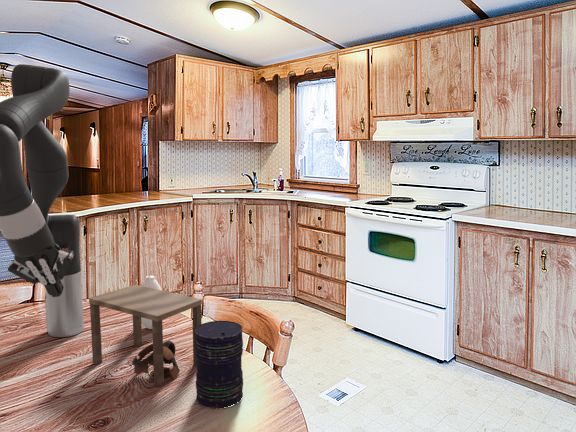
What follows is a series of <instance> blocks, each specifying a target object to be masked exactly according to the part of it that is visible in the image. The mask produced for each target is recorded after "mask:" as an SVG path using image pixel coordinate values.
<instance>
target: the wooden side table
mask: <svg viewBox="0 0 576 432" xmlns="http://www.w3.org/2000/svg"><path fill="white" fill-rule="evenodd" d="M88 303H89V309H90V310H89V311H90V313H89V314H90V315H89V316H90V328H91V329H90V334H91V353H92V364H94V365H99V364H102V363H103V354H102V352H103V351H102V335H101V334H102V333H101V332H102V331H101V330H102V329H101V309H100V308H101V307H103V308H104V309H105V308H106V309H110V310H113V311H117V312H121V313H123V314H127V315H132V331H133V332H132V334H133V335H132V336H133V337H132V338H133V346H134V347H137V348H139V347H140V346H141V347H142V346H143V330H142V329H143V328H142V326H143V325H142V324H141V317H142V318H146V319H150V320H152V329H151V330H152V332H151V333H152V344H153V351H152V352H153V364H154V366H153V385H154V387H156V388H161V387H163V386H164V385H165V368H164V367H165V366H164V364H165V363H164V361H163V343H164V336H163V334H164V333H163V331H164V330H163V320H165V319H166V320H167V319H168V318H170V317H173V316H175V315H178V314H182V313H183V312H186V311H188V310H192V311H191V312H192V313H191V314H192V360H193V362H192V363H193V365H194V366H196V367H197V358H196V354H195V351H196V349H195V336H196V335H195V329H196V328H197V327H198V326H199V325H201V324H203V323H202V321H203V320H202V318H203V317H202V305H203V298H202V299H201V298H196V297H194V296H193V297H192V296H189V295H185V294H179V293H177V292H176V293H175V292H171V291H167V290H166V291H165V290H163V289H162V290H158V289H153V288H149V287H144V286H141V285H138V284H133V285H129V286H125V287H122V288H119V289H116V290H112V291H110V292H105V293H103V294H102V293H101V294H99V295H96V296H93V297H92V296H91V297H89V298H88Z"/></svg>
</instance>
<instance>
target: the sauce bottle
mask: <svg viewBox="0 0 576 432" xmlns="http://www.w3.org/2000/svg"><path fill="white" fill-rule="evenodd" d="M140 286H144V287H149V288H153V289H158V290H162V291H163V289H162V287H161V285H160V283H159V282H158V281H157V279H156V277H155V276H154V275H152V274H151V268H150V267H148V275H146V276H145V278H144V280H143V282H142V284H141V285H140ZM141 326H144V327H145V328H146V329H148V330H152V320H150V319H146V318H142V317H141Z"/></svg>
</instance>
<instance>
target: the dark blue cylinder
mask: <svg viewBox="0 0 576 432" xmlns="http://www.w3.org/2000/svg"><path fill="white" fill-rule="evenodd" d="M195 335H196V336H195V349H196V351H195V354H196V358H197V366H196V374H195V380H196V381H195V389H196V390H195V391H196V401H197V403H198V404H199V406H202V407H204V408H207V409H212V410H220V409H219V408H223V409H225V408H224V407H228V406H231V405H233V404H236V403H237V402H239V401H240V400H241V398H242V397H244V396H243V395H244V394H243V393H244V392H243V388H244V387H243V386H244V378H243V377H244V376H243V375H244V374H243V373H244V371H243V369H242V366H243V365H242V356H243V352H244V348H243V346H244V339H243V326H242V325H241V324H240V323H238V322H235V321H230V320H213V321H207V322H204V323H202V324H201V325H199V326H198V327H197V328H196V329H195ZM242 399H243V398H242ZM241 401H242V400H241ZM241 401H240V402H241ZM240 402H239V403H240ZM236 405H237V404H236ZM216 408H218V409H216ZM228 408H229V407H228Z"/></svg>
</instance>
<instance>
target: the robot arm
mask: <svg viewBox="0 0 576 432" xmlns="http://www.w3.org/2000/svg"><path fill="white" fill-rule="evenodd" d="M10 76H11V77H10V85H11V86H10V87H11V92H12V93H11V95H12V97H9V98H6V99H4V100H2V101H0V232H1V235H2V236H3V238H4V240H5V241H6V244H7V246H8V247H9V249H10V251H11V253H12V254H13V255H14V257H13V258H14V259H13V260H12V261H11V262H10V264H9V266H8V267H7V271H8V272H9V273H11V274H14V275H15V276H17V277H19V278H21V279H23V280H24V281H27V282H28V283H31V284H32V285H36V284H37V283H38V284H39V283H40V284H41V286H42V285H43V286H44V289H45V299H44V303H45V304H44V306H45V319H46V320H45V321H46V332H48V333H47V334H48V335H49V336H50V337H54V338H66V337H67V338H68V337H73V336H75V335H78V334H81V333H82V332H83V331H84V329H85V322H84V320H85V319H84V303H83V300H84V298H83V282H82V267H81V265H82V264H81V245H80V244H81V239H80V238H81V226H80V220H79V218H78V217H77V215H75V214H55V215H52V214H51V215H49V211H50V209H51V207H52V205H53V204H54V202H55V200H56V199H58V197H59V195H60V194H61V193H62V192H63V190H64V189H65V187H66V185H67V184H68V181H69V177H70V174H69V164H68V156H67V153H66V151H65V149H64V147H63V146H62V145H61V144H60V142H59V141H58V140H57V138H56V137H55V136H54V135H53V133H52V132H51V131H50V130H49V129H48V128H47V127H46V125H45V123H44V122H43V121H44V120H45V119H48V118H49V117H51V116H52V115H54V114H56V113H58V112H59V111H61V110H62V109H63V108H64V107H66V105H67V104H68V101H69V98H70V91H71V90H70V89H71V88H70V81H69V77H68V76H67V74H66V73H65V72H64V71H62V70H60V69H58V68H54V67H48V66H40V65H33V64H24V63H22V64H21V63H19V64H17V65H15V66H14V67H13V68H12V71H11V75H10ZM21 140H22V141H23V146H24V155H25V156H24V157H25V165H26V170H27V177H28V181H29V187H30V189H29V187H28V184H27V183H26V179H25V175H24V172H23V165H22V164H23V163H22V159H21V149H20V144H19V143H20V141H21ZM61 249H67V251H65V250H61Z"/></svg>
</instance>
